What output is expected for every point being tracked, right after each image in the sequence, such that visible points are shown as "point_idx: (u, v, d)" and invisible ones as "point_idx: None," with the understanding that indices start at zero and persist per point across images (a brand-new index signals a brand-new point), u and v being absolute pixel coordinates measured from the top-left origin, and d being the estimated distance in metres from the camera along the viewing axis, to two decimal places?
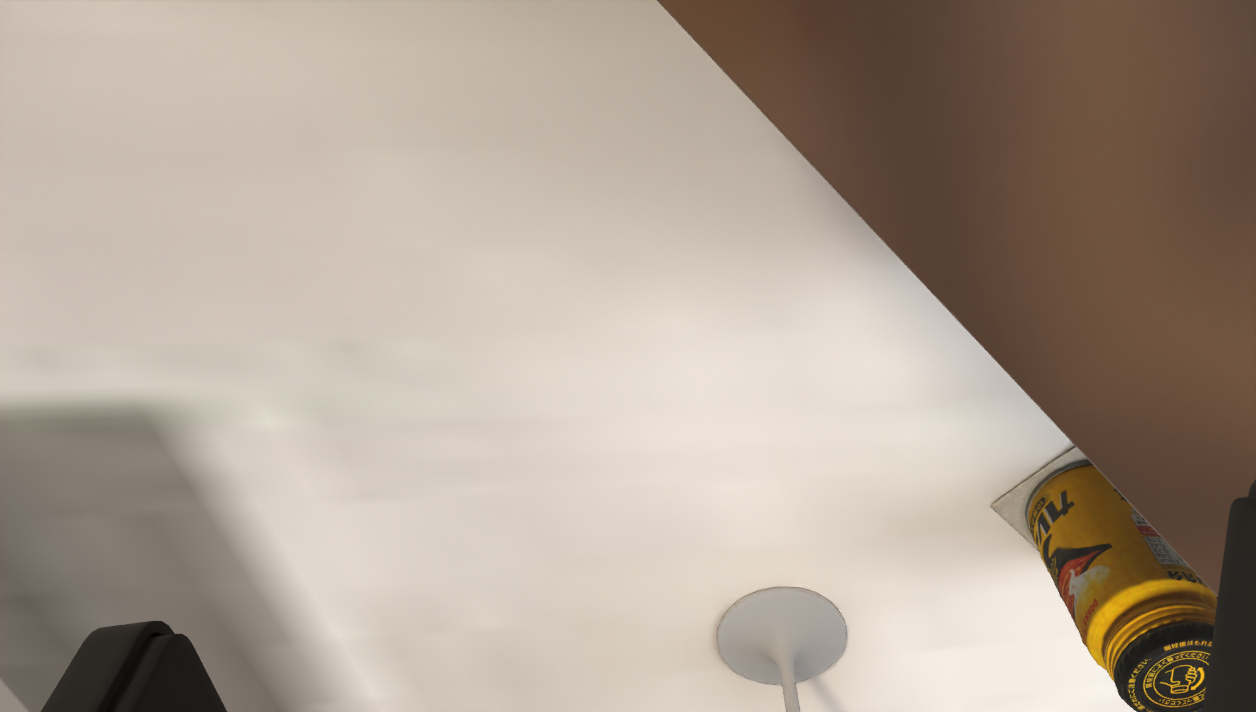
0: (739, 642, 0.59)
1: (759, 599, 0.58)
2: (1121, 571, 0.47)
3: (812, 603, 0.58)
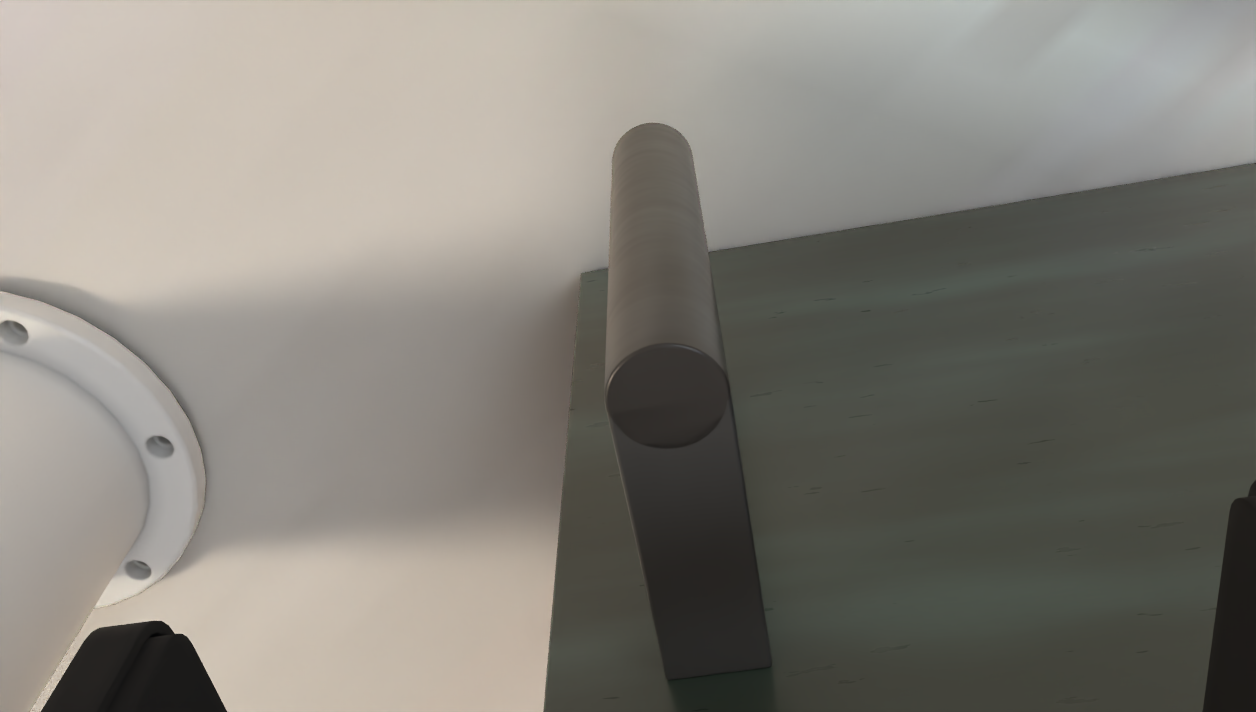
0: None
1: None
2: None
3: None
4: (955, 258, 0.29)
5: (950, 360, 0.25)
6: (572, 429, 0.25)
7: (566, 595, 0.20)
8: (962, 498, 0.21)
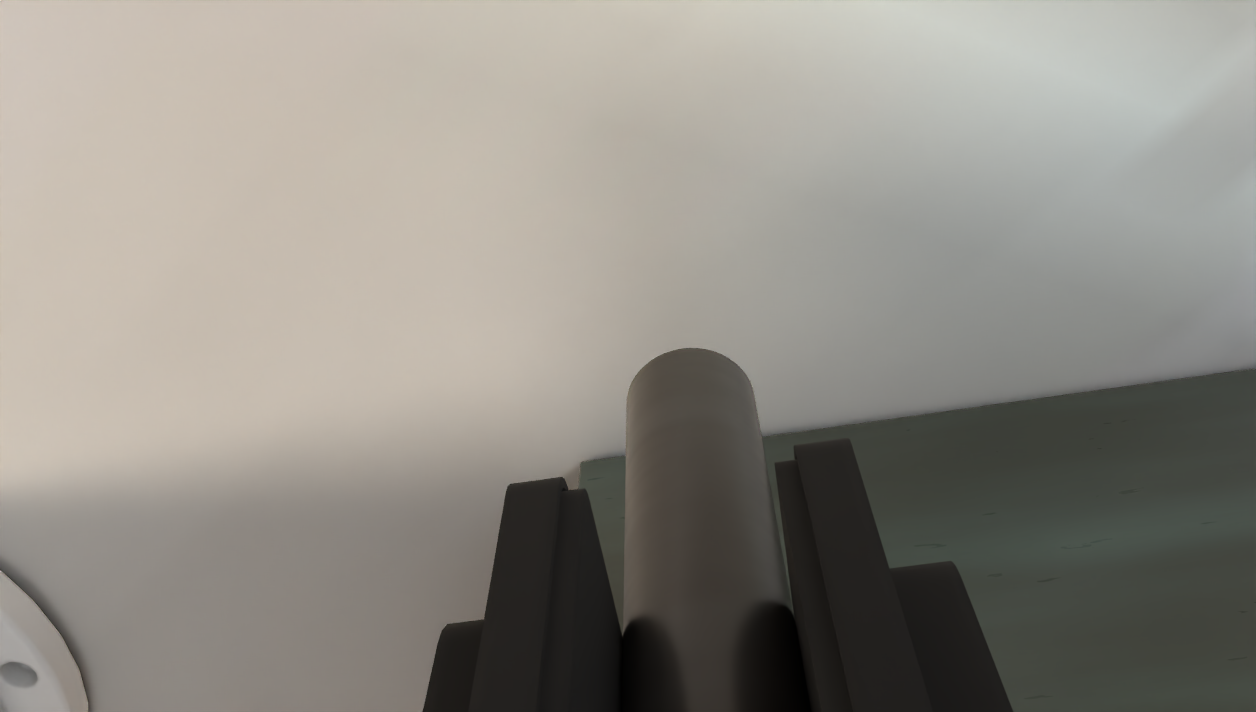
0: None
1: None
2: None
3: None
4: (1113, 479, 0.20)
5: (1146, 697, 0.16)
6: None
7: None
8: None
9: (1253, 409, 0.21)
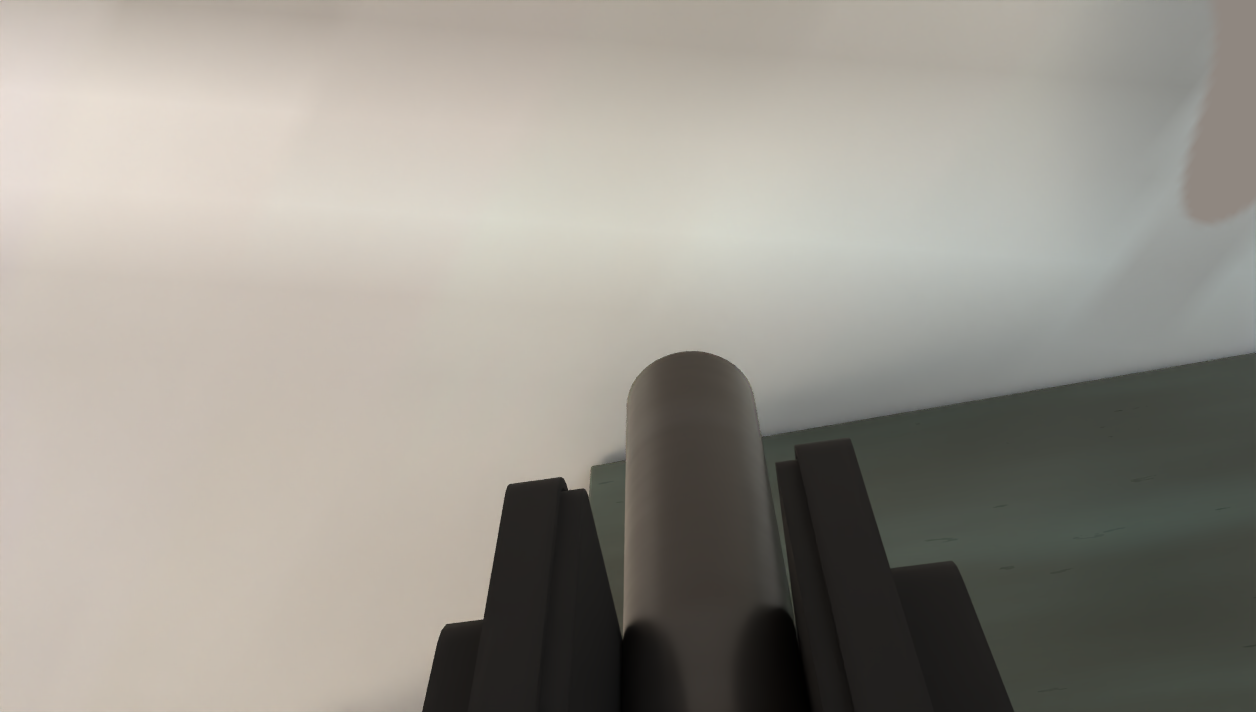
0: None
1: None
2: None
3: None
4: (1125, 467, 0.20)
5: (1161, 687, 0.16)
6: None
7: None
8: None
9: None
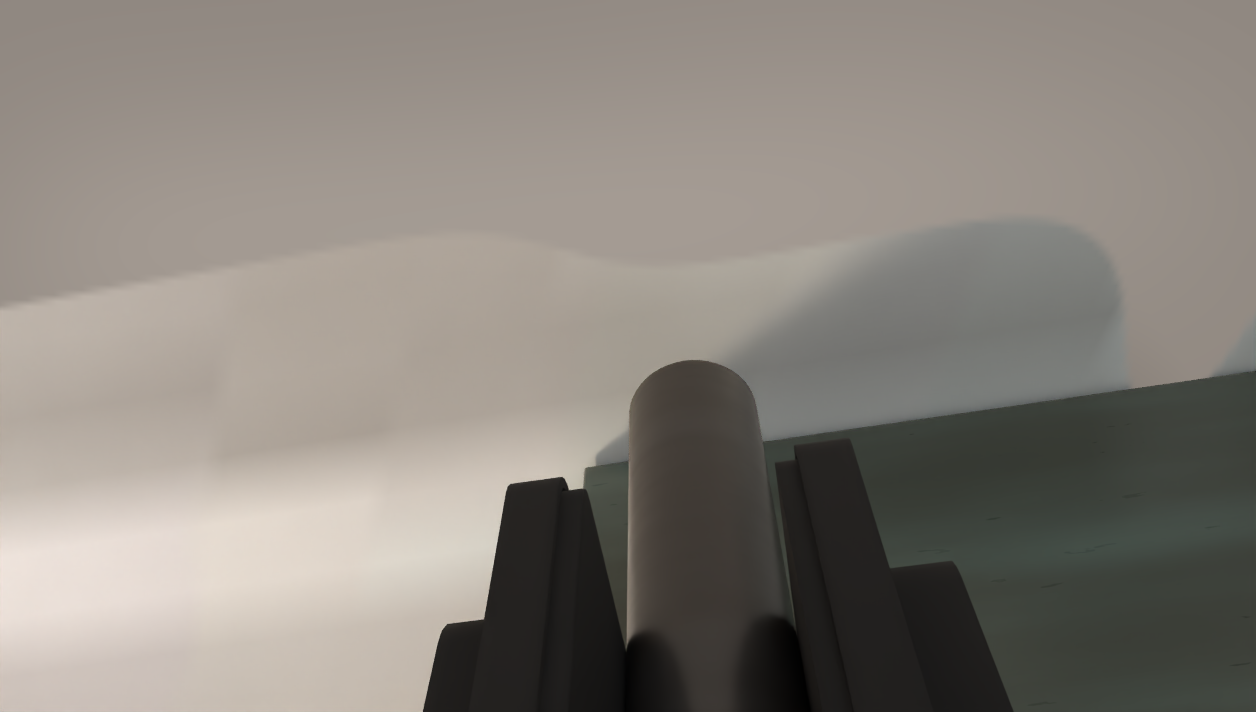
0: None
1: None
2: None
3: None
4: (1116, 483, 0.20)
5: (1149, 703, 0.16)
6: None
7: None
8: None
9: None
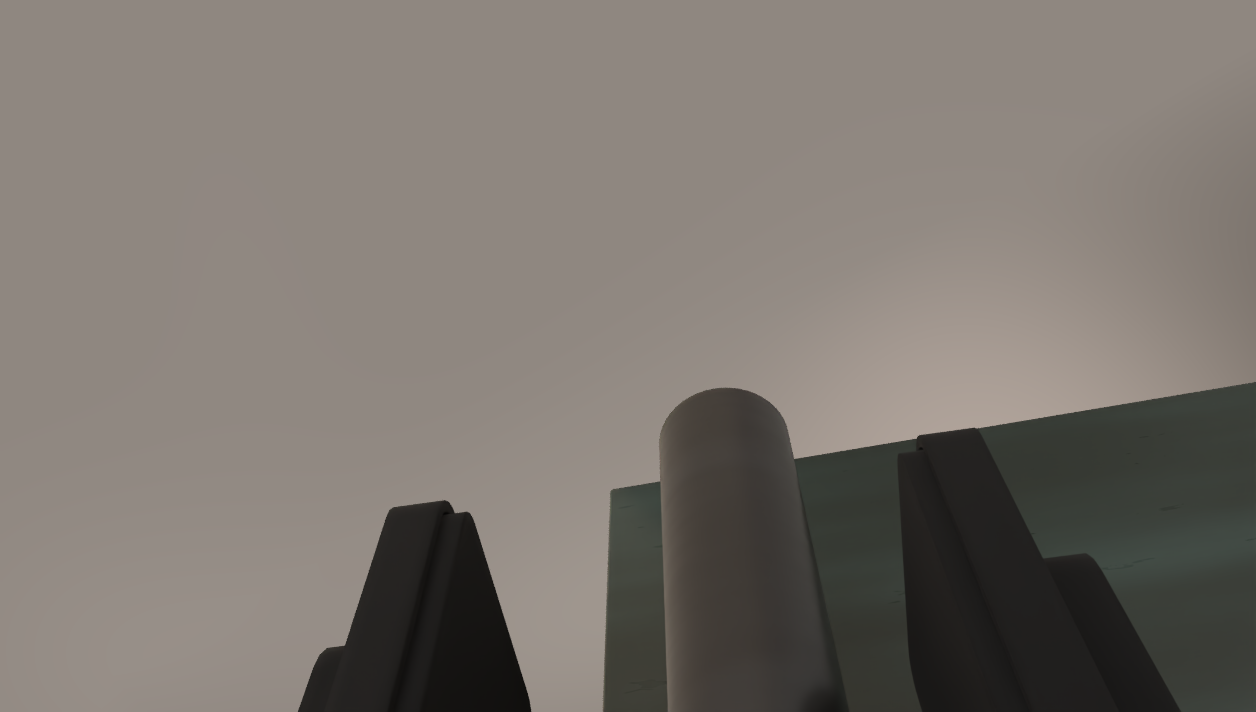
0: None
1: None
2: None
3: None
4: (1153, 495, 0.20)
5: None
6: None
7: None
8: None
9: None
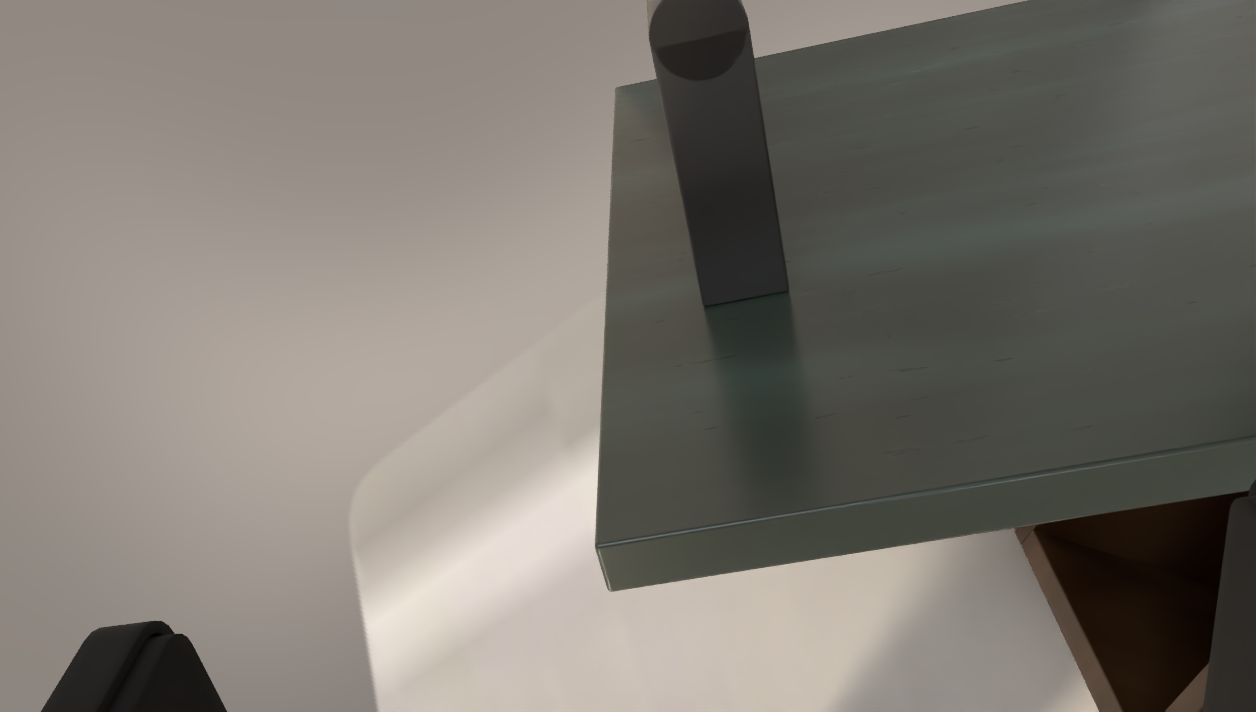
0: None
1: None
2: None
3: None
4: (947, 45, 0.33)
5: (940, 107, 0.29)
6: (615, 180, 0.29)
7: (617, 272, 0.24)
8: (947, 185, 0.24)
9: (1040, 10, 0.34)
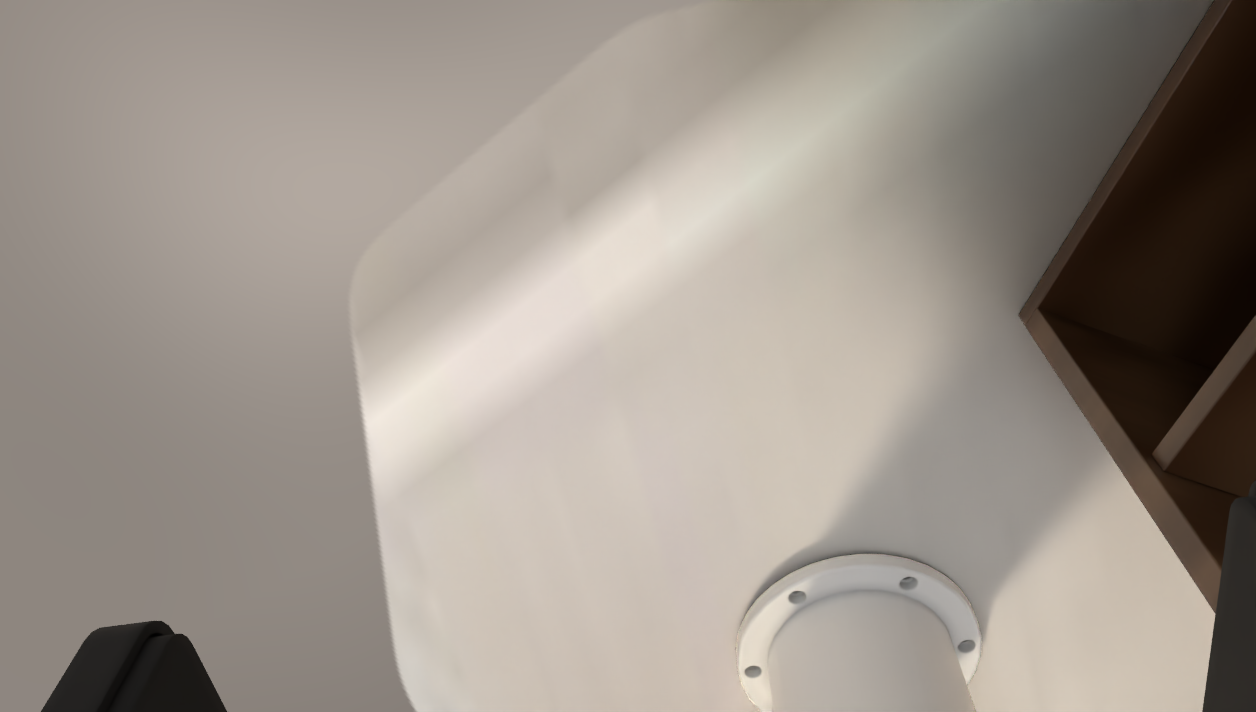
0: None
1: None
2: None
3: None
4: None
5: None
6: None
7: None
8: None
9: None
